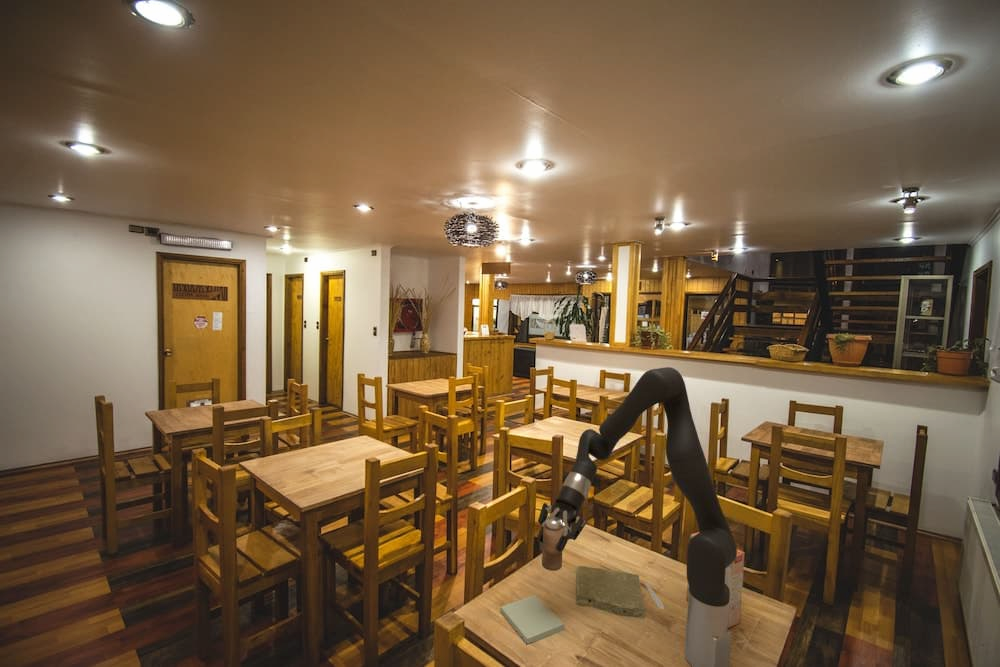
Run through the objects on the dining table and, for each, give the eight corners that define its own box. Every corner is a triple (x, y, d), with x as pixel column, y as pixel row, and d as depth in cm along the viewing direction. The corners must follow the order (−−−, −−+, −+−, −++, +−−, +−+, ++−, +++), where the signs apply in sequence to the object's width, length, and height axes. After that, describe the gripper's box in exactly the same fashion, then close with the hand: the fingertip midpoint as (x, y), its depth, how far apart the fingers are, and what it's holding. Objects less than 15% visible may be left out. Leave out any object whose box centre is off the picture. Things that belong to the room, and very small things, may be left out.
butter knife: (656, 609, 131) (666, 608, 132) (625, 558, 158) (633, 558, 159) (656, 610, 131) (666, 610, 132) (625, 560, 158) (633, 559, 159)
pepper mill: (565, 567, 125) (568, 522, 124) (549, 572, 122) (551, 526, 121) (554, 557, 130) (556, 513, 129) (537, 561, 127) (539, 517, 126)
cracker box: (741, 623, 127) (746, 552, 126) (727, 629, 124) (732, 557, 123) (699, 594, 139) (703, 529, 138) (685, 599, 136) (689, 533, 135)
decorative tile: (576, 573, 149) (577, 562, 149) (639, 582, 145) (639, 572, 145) (574, 609, 131) (574, 597, 131) (645, 621, 127) (646, 609, 127)
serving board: (563, 629, 122) (564, 624, 122) (527, 644, 116) (527, 639, 116) (534, 599, 134) (535, 594, 134) (500, 611, 128) (500, 606, 128)
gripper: (549, 478, 135) (523, 530, 127) (591, 493, 125) (565, 550, 117) (558, 490, 139) (533, 541, 131) (599, 505, 130) (575, 562, 121)
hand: (548, 545), depth 124 cm, fingers closed on pepper mill, 5 cm apart
